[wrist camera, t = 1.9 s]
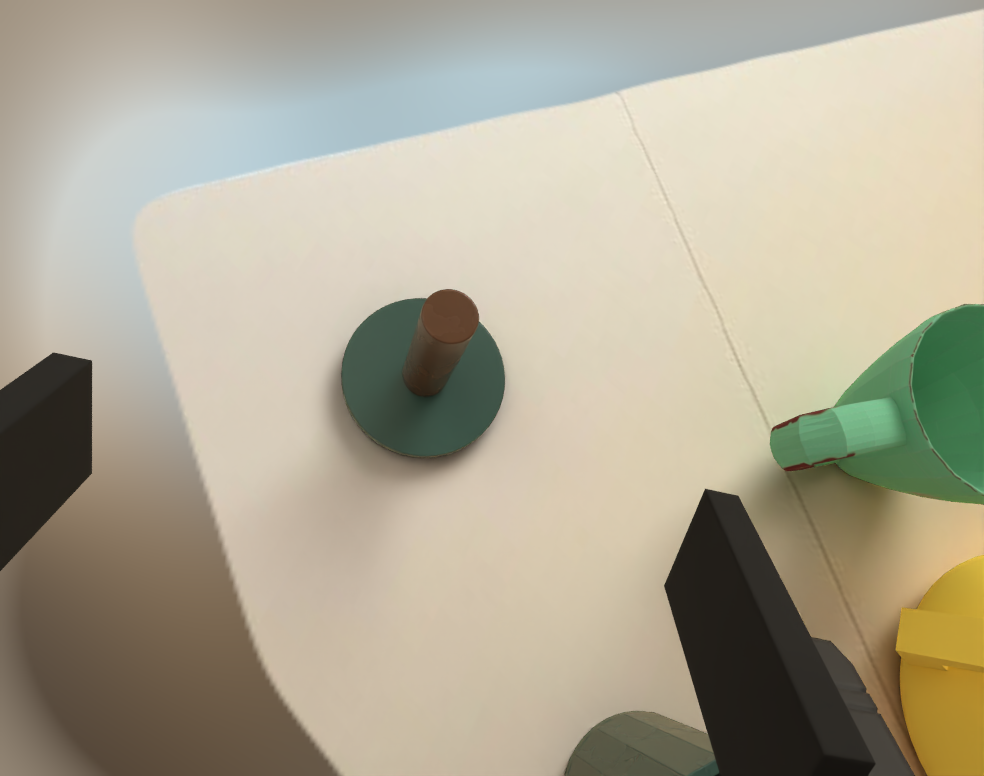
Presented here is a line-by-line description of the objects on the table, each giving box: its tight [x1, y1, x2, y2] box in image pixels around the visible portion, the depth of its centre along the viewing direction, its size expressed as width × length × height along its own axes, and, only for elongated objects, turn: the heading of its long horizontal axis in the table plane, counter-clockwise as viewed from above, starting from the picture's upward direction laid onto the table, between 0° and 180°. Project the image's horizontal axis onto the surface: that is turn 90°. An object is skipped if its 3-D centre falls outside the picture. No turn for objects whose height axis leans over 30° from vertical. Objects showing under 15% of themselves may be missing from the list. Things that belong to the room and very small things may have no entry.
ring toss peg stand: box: [341, 289, 505, 458], centre depth 35 cm, size 9×9×10 cm
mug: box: [770, 304, 984, 504], centre depth 39 cm, size 15×10×10 cm
